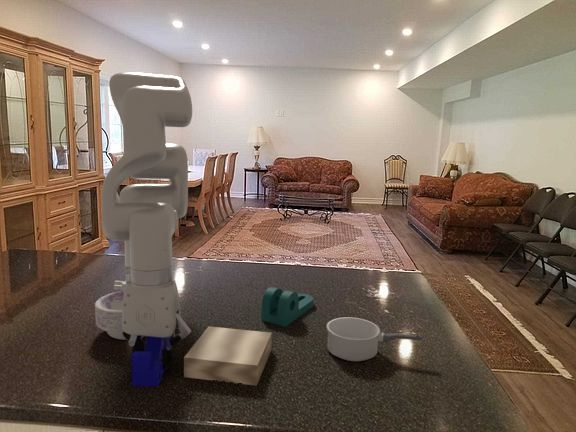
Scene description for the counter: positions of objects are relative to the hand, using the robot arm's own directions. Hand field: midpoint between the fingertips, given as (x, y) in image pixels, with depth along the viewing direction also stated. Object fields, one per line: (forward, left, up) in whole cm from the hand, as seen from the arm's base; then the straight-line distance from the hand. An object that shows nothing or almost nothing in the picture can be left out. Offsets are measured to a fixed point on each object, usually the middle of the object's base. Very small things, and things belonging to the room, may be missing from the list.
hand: (153, 363), depth 85 cm
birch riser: (+14, +5, -1) cm, 15 cm away
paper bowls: (-12, +14, -1) cm, 19 cm away
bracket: (+22, +34, -1) cm, 41 cm away
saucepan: (+42, +15, -1) cm, 45 cm away
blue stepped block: (0, 0, -1) cm, 1 cm away
